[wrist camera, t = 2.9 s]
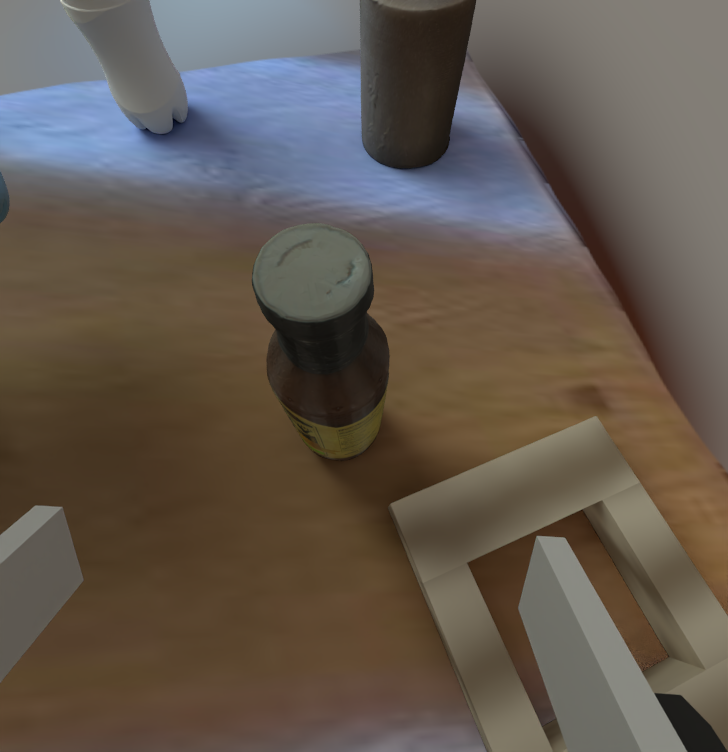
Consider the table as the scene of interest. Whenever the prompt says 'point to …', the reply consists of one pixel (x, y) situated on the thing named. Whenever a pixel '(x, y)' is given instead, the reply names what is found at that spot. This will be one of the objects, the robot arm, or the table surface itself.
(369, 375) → the sauce bottle
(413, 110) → the pillar candle
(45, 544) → the robot arm
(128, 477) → the table surface
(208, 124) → the table surface
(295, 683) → the table surface
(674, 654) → the birch stand
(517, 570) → the table surface
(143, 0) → the water bottle
